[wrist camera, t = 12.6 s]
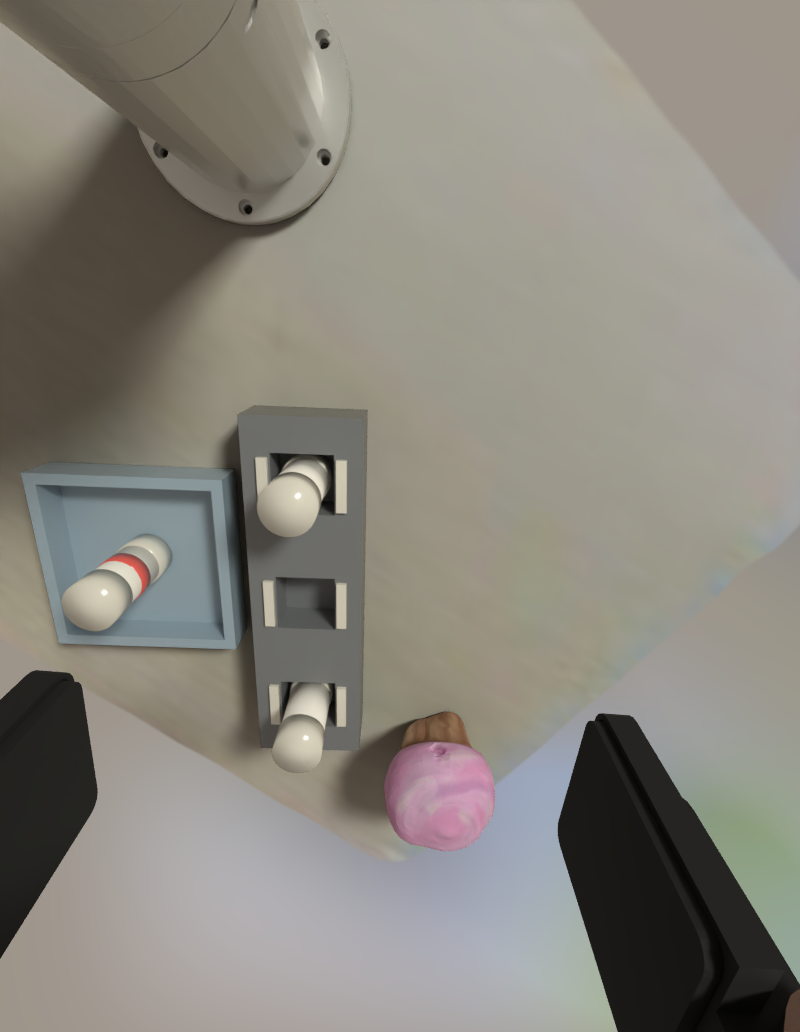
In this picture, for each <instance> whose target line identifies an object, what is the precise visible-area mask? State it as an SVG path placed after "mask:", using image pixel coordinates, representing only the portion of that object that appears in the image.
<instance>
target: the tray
mask: <svg viewBox="0 0 800 1032" xmlns="http://www.w3.org/2000/svg"><path fill="white" fill-rule="evenodd" d="M21 476H22V480H23V485H24V489H25V494H26V498H27V503H28V507H29V511H30V516H31V520H32V525H33V529H34V534H35V538H36V543H37V547H38V552H39V556H40V561H41V565H42V569H43V574H44V578H45V583H46V587H47V592H48V596H49V601H50V605H51V610H52V614H53V619H54V623H55V627H56V632H57V636H58V641H59V643H62V644H92V645H122V646H152V647H182V648H212V649H236V648H237V646H238V644H239V642H240V640H241V639H242V637H243V635H244V633H245V631H246V629H247V622H246V609H245V595H244V582H243V569H242V555H241V542H240V528H239V515H238V501H237V488H236V475H235V469H219V468H193V467H166V466H140V465H114V464H87V463H61V462H48V463H46V464H43V465H40V466H38V467H35V468H32V469H30V470H27V471H24V472H22V473H21ZM141 534H152V535H156V536H158V537H160V538H161V539H163V540H164V541H165V542H166V543H167V544H168V546H169V547H170V549H171V551H172V563H171V565H170V567H169V568H168V569H167V570H166V571H165V572H164V573H163V574H162V575H161V576H160V577H159V578H158V579H157V580H156V581H155V582H154V583H152V584H150V585H149V586H148V588H147V589H146V590H145V591H144V592H143V593H142V594H141V595H140V596H139V597H138V598H137V599H136V600H134V601H133V602H132V603H131V605H130V607H129V608H128V609H127V610H126V611H125V612H124V613H123V614H122V615H121V616H120V617H119V618H118V619H117V620H116V621H115V622H114V623H113V624H112V625H111V626H110V627H109V628H107V629H105V630H102V631H88V630H85V629H82V628H80V627H78V626H76V625H75V624H73V623H72V622H71V621H70V620H69V619H68V618H67V616H66V615H65V613H64V611H63V609H62V596H63V594H64V592H65V591H66V590H67V589H68V588H69V587H70V586H72V585H73V584H74V583H76V582H77V581H78V580H80V579H81V578H82V577H84V576H85V575H86V574H87V573H89V572H91V571H93V570H95V569H97V567H98V566H99V565H100V564H102V563H103V562H104V561H106V560H107V559H108V558H110V557H111V556H113V555H115V554H116V552H117V551H118V550H119V549H120V548H121V547H123V546H124V545H125V544H127V543H128V542H129V541H130V540H132V539H133V538H134V537H136V536H138V535H141Z"/></svg>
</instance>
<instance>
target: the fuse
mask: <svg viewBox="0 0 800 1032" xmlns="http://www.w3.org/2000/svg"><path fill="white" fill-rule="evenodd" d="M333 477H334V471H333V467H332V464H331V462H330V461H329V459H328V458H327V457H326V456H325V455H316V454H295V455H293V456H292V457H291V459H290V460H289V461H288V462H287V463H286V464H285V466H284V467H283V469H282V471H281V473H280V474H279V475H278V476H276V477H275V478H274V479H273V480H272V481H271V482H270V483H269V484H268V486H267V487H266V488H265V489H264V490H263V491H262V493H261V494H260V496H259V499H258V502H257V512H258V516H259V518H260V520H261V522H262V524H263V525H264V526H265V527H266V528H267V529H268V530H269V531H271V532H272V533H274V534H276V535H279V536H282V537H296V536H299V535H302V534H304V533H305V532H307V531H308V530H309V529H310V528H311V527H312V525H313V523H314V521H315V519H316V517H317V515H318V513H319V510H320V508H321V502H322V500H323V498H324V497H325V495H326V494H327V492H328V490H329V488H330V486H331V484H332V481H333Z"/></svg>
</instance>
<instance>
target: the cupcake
mask: <svg viewBox="0 0 800 1032" xmlns="http://www.w3.org/2000/svg"><path fill="white" fill-rule="evenodd" d="M384 794H385V802H386V808H387V814H388V817H389V820H390V823H391V824H392V826H393V828H394V830H395V832H396V833H397V834H398V836H399V837H400V838H401V839H403V840H405V841H406V842H408V843H410V844H414V845H419V846H424V847H428V848H432V849H436V850H440V851H453V850H459V849H462V848H465V847H467V846H469V845H470V844H472V843H473V842H475V841H476V840H477V839H478V838H479V836H480V835H481V833H482V831H483V829H484V828H485V827H486V826H487V824H488V823H489V821H490V819H491V817H492V815H493V812H494V800H495V790H494V780H493V776H492V774H491V771H490V769H489V767H488V765H487V763H486V761H485V758H484V757H483V756H482V754H481V753H479V752H478V751H476V750H475V749H473V748H472V747H471V745H470V743H469V740H468V738H467V734H466V731H465V727H464V724H463V722H462V720H461V718H460V717H459V716H458V715H457V714H455V713H452V712H442V713H440V714H437V715H434V716H431V717H428V718H425V719H419V720H416V721H415V722H414V723H412V724H411V725H410V726H409V727H408V729H407V731H406V733H405V736H404V738H403V742H402V746H401V749H400V751H399V752H398V753H397V754H396V755H395V757H394V758H393V760H392V762H391V763H390V766H389V768H388V772H387V775H386V777H385V782H384Z"/></svg>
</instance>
